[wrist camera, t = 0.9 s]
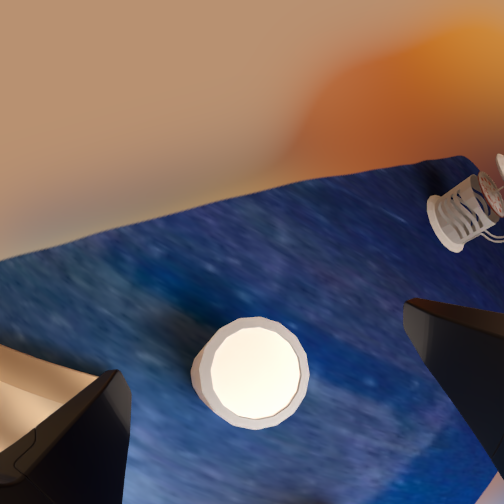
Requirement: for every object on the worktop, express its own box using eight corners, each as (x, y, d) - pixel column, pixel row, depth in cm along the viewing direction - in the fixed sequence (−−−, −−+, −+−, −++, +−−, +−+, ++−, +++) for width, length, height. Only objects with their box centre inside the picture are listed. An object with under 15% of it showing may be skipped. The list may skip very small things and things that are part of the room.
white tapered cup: (283, 377, 25) (329, 374, 19) (223, 434, 21) (255, 452, 15) (229, 315, 25) (261, 293, 19) (163, 368, 22) (173, 366, 16)
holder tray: (108, 545, 14) (107, 559, 12) (-49, 483, 10) (-62, 489, 8) (119, 381, 20) (117, 382, 18) (-41, 325, 16) (-55, 319, 14)
